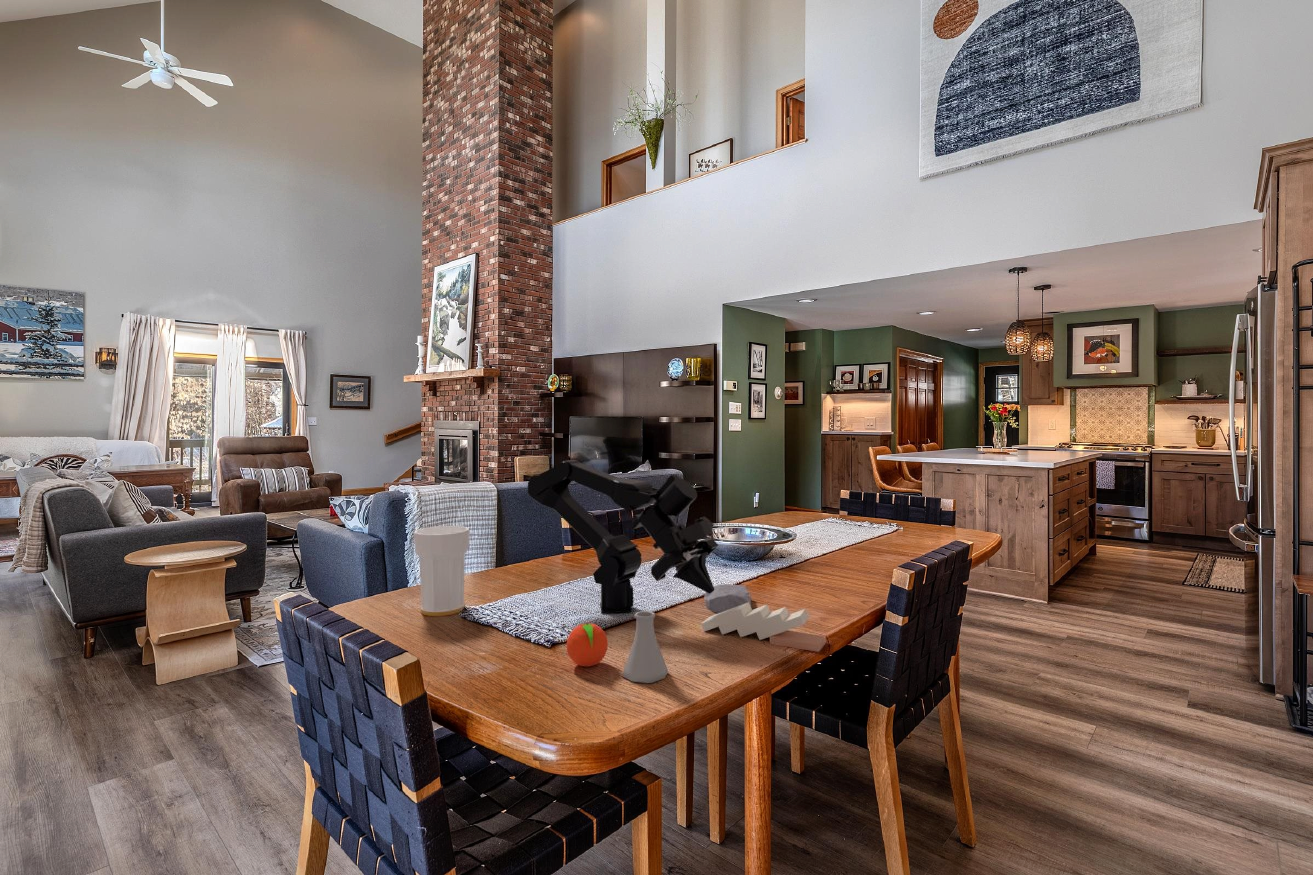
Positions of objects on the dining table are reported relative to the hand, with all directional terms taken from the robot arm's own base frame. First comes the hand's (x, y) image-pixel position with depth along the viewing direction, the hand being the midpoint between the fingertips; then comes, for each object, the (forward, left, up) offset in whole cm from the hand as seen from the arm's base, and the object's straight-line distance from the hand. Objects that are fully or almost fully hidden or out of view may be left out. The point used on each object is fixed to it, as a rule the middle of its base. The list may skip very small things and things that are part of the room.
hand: (712, 591), depth 125 cm
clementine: (-25, -16, -7) cm, 31 cm away
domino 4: (+8, -6, -6) cm, 12 cm away
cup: (-55, +20, -7) cm, 59 cm away
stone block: (+7, +15, -8) cm, 18 cm away
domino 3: (+5, -4, -6) cm, 9 cm away
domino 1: (-1, 0, -6) cm, 6 cm away
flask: (-16, -21, -7) cm, 27 cm away
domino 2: (+2, -2, -6) cm, 7 cm away
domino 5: (+10, -8, -7) cm, 14 cm away
